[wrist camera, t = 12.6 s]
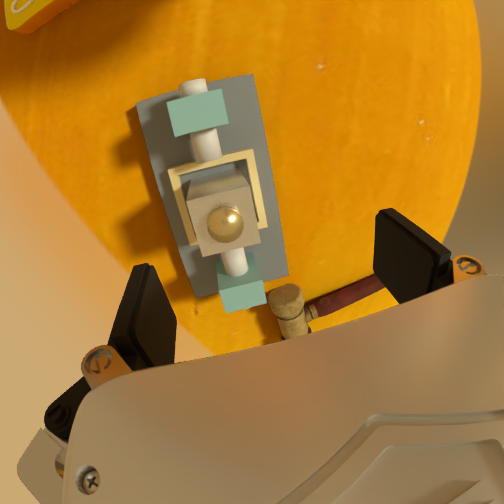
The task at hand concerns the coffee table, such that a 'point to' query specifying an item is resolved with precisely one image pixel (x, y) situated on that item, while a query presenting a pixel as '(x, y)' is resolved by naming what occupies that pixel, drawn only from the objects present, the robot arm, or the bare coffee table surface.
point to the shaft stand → (211, 161)
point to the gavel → (314, 305)
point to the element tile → (32, 13)
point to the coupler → (222, 212)
